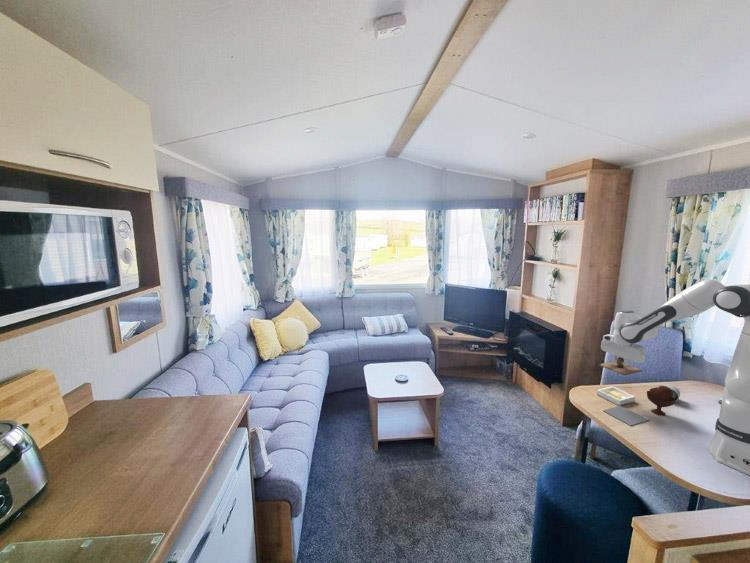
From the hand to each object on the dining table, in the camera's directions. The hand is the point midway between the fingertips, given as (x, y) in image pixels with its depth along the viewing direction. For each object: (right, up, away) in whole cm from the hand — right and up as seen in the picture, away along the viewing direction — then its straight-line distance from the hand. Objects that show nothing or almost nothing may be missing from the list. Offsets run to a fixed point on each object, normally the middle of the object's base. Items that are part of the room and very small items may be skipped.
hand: (620, 364), depth 166 cm
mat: (-7, -23, -11) cm, 26 cm away
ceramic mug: (+28, -20, +3) cm, 34 cm away
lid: (0, -2, 0) cm, 2 cm away
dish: (+1, -20, +5) cm, 21 cm away
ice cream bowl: (+12, -23, -10) cm, 27 cm away
